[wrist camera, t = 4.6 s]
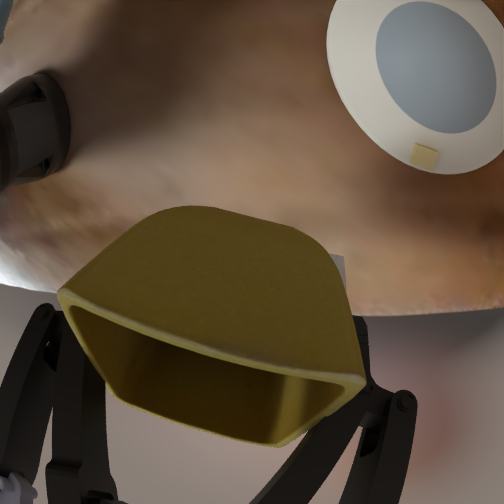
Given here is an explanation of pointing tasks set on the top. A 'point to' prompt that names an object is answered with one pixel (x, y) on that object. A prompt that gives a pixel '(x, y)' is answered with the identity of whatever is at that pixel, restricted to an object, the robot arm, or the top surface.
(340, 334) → the flower pot
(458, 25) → the disc
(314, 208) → the top surface
